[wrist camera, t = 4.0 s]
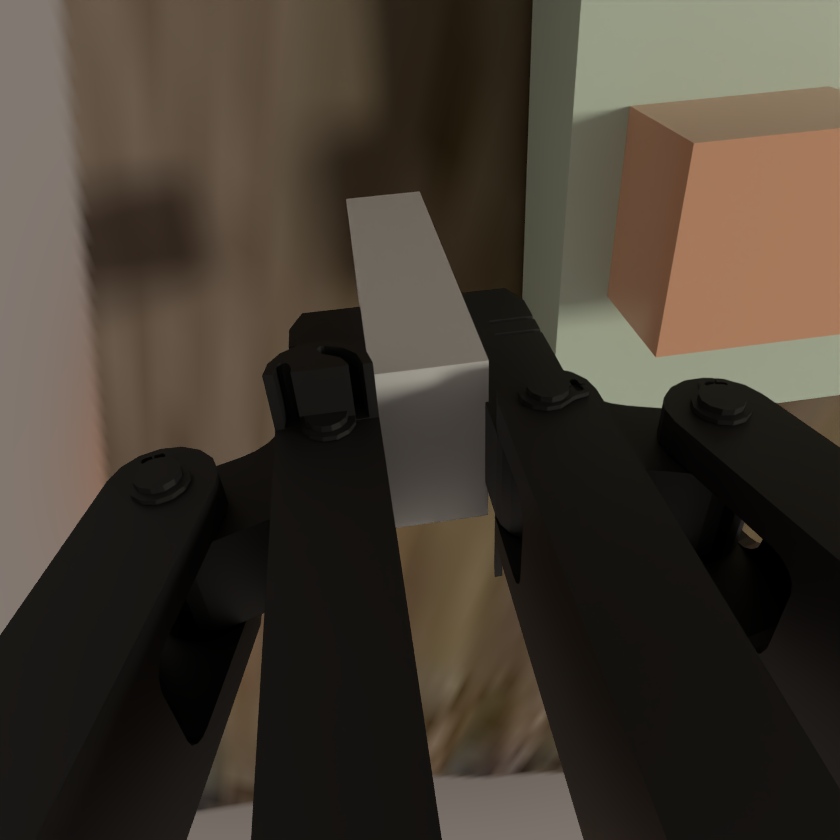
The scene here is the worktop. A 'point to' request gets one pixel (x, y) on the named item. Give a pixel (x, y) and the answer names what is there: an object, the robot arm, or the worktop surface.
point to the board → (603, 162)
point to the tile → (730, 221)
